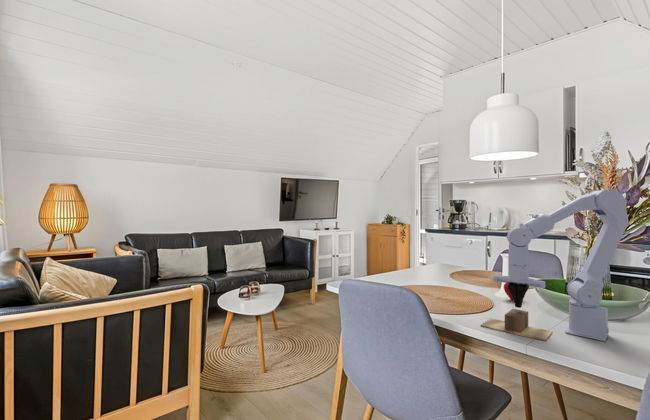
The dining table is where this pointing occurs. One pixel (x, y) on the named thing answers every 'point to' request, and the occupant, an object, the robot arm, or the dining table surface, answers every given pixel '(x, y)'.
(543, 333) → the light wood flat board
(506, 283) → the strawberry
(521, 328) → the walnut block
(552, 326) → the dining table surface
